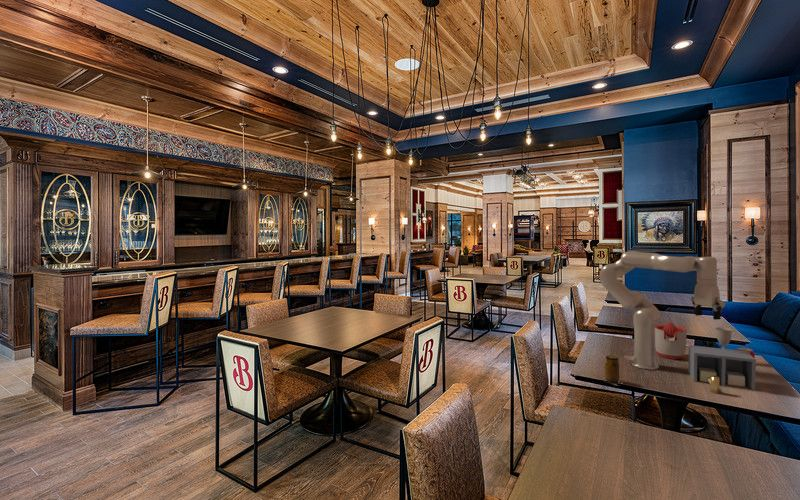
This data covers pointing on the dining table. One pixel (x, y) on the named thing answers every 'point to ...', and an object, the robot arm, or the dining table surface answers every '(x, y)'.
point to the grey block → (735, 378)
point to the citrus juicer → (670, 341)
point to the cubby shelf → (722, 363)
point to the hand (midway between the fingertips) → (707, 317)
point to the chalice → (723, 336)
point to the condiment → (612, 369)
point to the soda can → (748, 351)
